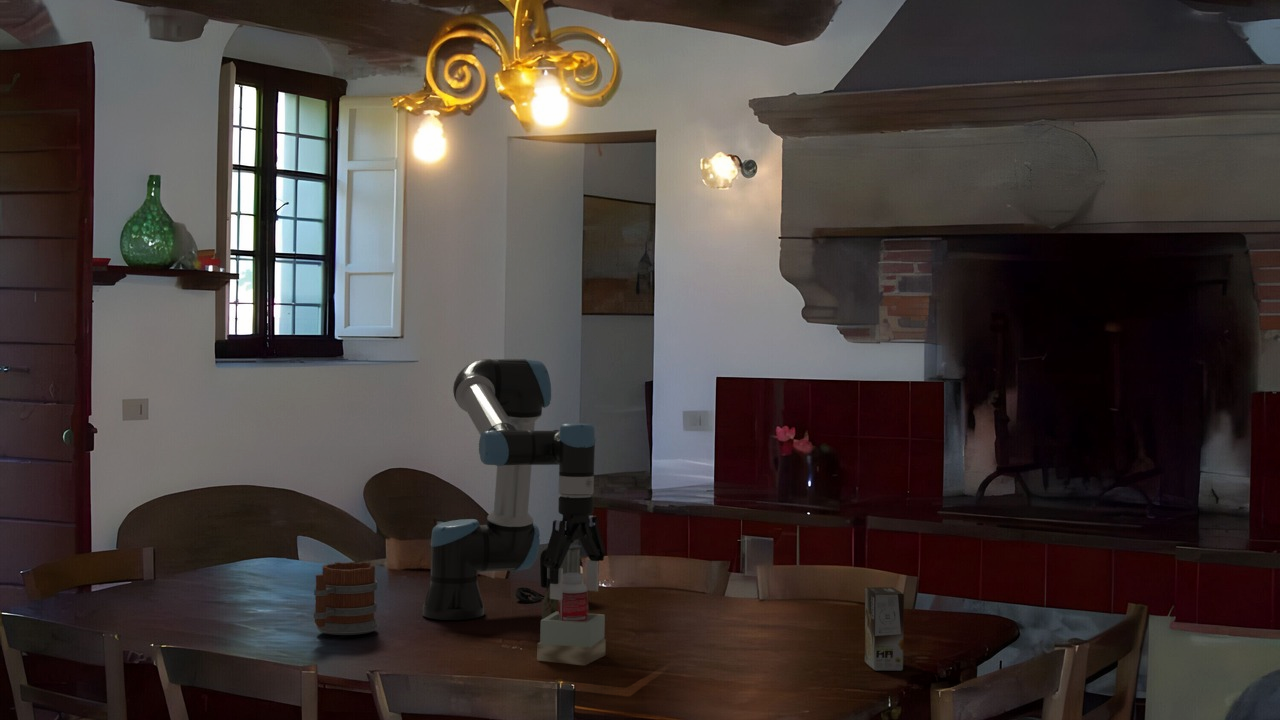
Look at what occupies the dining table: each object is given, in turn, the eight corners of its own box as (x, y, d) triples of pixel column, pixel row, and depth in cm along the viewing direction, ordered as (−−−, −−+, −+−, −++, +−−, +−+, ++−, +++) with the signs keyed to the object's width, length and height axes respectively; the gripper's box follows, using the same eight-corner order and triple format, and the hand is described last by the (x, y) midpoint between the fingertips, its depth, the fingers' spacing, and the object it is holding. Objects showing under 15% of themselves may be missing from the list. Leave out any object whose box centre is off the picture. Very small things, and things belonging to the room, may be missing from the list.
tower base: (537, 662, 282) (537, 643, 282) (559, 652, 292) (559, 634, 292) (584, 667, 278) (584, 647, 278) (605, 657, 288) (605, 638, 288)
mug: (389, 627, 316) (391, 563, 316) (342, 641, 298) (343, 574, 298) (340, 621, 321) (341, 559, 321) (290, 635, 303) (291, 569, 303)
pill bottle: (592, 626, 285) (592, 575, 285) (568, 630, 281) (568, 578, 281) (577, 621, 290) (577, 570, 290) (553, 624, 287) (553, 573, 286)
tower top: (540, 644, 281) (540, 620, 281) (555, 634, 292) (556, 611, 292) (590, 647, 279) (590, 623, 279) (604, 637, 289) (604, 614, 289)
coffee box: (904, 671, 278) (905, 593, 278) (874, 671, 277) (875, 593, 277) (892, 661, 287) (893, 586, 287) (862, 661, 286) (864, 586, 287)
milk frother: (587, 601, 356) (588, 545, 356) (550, 609, 343) (551, 551, 343) (544, 595, 364) (545, 540, 364) (507, 603, 351) (508, 546, 351)
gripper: (556, 501, 274) (555, 604, 274) (622, 492, 295) (620, 588, 295) (527, 498, 278) (525, 600, 278) (593, 490, 299) (592, 585, 299)
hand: (574, 595), depth 286 cm, fingers open, 13 cm apart
